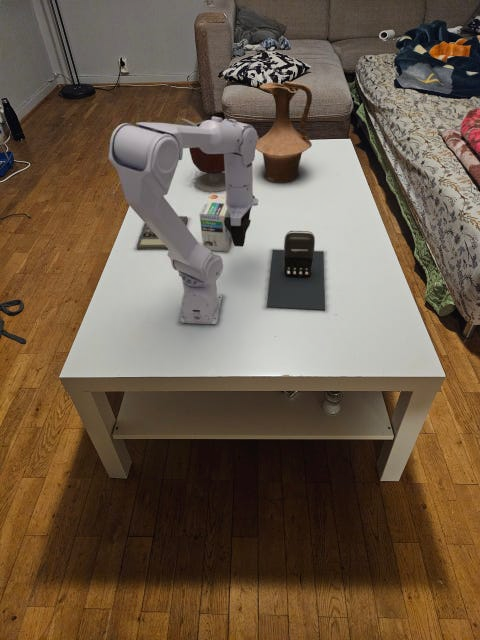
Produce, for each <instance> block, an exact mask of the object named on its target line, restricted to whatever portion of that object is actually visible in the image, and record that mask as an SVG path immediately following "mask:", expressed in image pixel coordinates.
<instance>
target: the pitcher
mask: <svg viewBox="0 0 480 640" xmlns="http://www.w3.org/2000/svg"><path fill="white" fill-rule="evenodd" d="M259 89H260V90H264V91H267V92H269V93H270V94H271V95H272V96H273V100H274V104H275V117H274V121H273V124H272V126H271V127H270V129H269V131H267V132H266V134H264V135H263V136H262V137H260V138H258V143H257V147H256V149H255V150H257V151H258V152H259V153H262V156H263V164H264V165H263V166H264V177H265V179H267V180H268V181H271V182H272V183H273V182H274V183H288V182H292V181H294V180H295V179H296V178H298V176H299V170H300V164H301V163H300V162H301V158H302V154H303V153H304V152H306V151H307V150H308V149H310V148H311V147H312V146H313V145H312V142H311V140H310V139H309V136H308V135H307V131H306V124H307V120H308V115H309V113H310V109H311V106H312V101H313V93H312V90H311V88H310V87H309V86H308V85H307V84H304V83H301V82H294V81H293V82H292V81H288V80H285V81H284V84H282V83H279V82H266V83H263V84H261V85H259ZM299 90H300V91H302V92H305V95H306V102H305V106H304V109H303V113H302V116H301V121H300V133H299V132H298V131H297V130H296V129H295V127H294V126H293V123H292V121H291V117H290V103H291V101H292V100H293V98H294V96H295V95H296V93H297V92H298V91H299Z"/></svg>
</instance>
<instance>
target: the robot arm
mask: <svg viewBox="0 0 480 640" xmlns="http://www.w3.org/2000/svg"><path fill="white" fill-rule="evenodd" d="M201 122H202V123H201V124H200V126H199V127H194V126H189V125H187V124H186V125H185V124H176V123H166V122H149V121H147V122H143V121H140V122H136V123H135V125H134V124H132V123H129V122H124V123H120V124H119V125H118V126H117V127H116V128H114V130H113V132H112V133H111V137H110V141H109V150H108V151H109V152H108V160H109V162H110V163H111V165H112V166H113V167H114V168H115V170H116V171H117V174H118V178H119V182H120V184H121V188H122V191H123V195H124V198H125V201H126V203H127V204H128V205H129V207H130V208H131V209H132V211H134V213H135V214H136V215H138V217H139V218H140V219H141V221H143V223H144V224H145V223H146V225H147V226H148V227H149V228H150V229H151V230H152V231H153V232H154V234H155V235H156V236H157V237H158V238H159V239H160V240H161V241H162V242H163V244H164V245H165V246H166V247H167V248H168V249H167V250H168V251H167V257H168V258H169V260H170V264H171V267H172V269H174V270H175V271H177V272H178V276H179V277H180V278H181V282H182V289H183V295H182V298H181V306H182V307H181V308H182V313H181V317H180V323H182V324H196V325H197V324H199V325H217V323H218V318H219V313H220V309H221V303H222V299H223V295H222V294H218V287H217V281H218V280H219V279H220V277H221V275H222V274H223V273H222V272H223V269H224V261H223V258H222V256H221V255H219V254H214V252H213V250H209V249H207V248H206V247H204V246H203V244H202V243H200V242H199V241H198V240H197V239H196V237H195V236H194V234H192V232H191V231H190V229H189V228H188V227H187V225H186V226H185V224H184V223H183V222H182V220H181V219H180V218H179V216H180V215H178V214H177V212H176V211H175V209H174V208H173V207H172V206H171V204H170V203H169V201H168V200H167V199H166V198H165V196H167V195H168V194H169V191H170V188H171V185H172V182H173V178H174V176H175V173H176V171H177V168H178V164H179V161H181V160H183V155H184V149H189V148H195V147H199V148H200V149H201V150H202V151H203V152H204V153H206V154H224V164H225V171H224V173H225V181H226V190H225V195H226V206H227V208H228V211H229V213H230V215H231V217H225V219H224V225H225V227H226V228H227V229H228V231H229V232H230V235H231V238H232V241H231V242H232V245H233V247H239V248H242V247H244V246H245V241H246V234H247V231H248V229H249V227H250V225H251V222H252V220H251V219H250V216H251V211H252V208H253V207H256V206H258V205H259V198H257V197H256V196H255V195H254V188H253V187H254V186H253V185H254V183H253V181H254V180H253V162H254V161H255V158H256V150H257V149H256V147H257V143H258V140H259V135H258V132H257V130H256V129H255V128H254V126H253V125H252V124H249V123H243V122H240V121H237V119H233V118H224V119H223V118H222V117H218V116H212V117H211V119H206V120H204V121H201Z"/></svg>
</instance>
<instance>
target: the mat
mask: <svg viewBox="0 0 480 640" xmlns="http://www.w3.org/2000/svg"><path fill="white" fill-rule="evenodd" d="M324 256H325V255H324V251H321V250H320V251H319V250H316V251H315V250H314V256H313V261H312V272H311V275H310V276H309V277H287V276H285V274H284V249H272V252H271V261H270V271H269V278H268V280H269V281H268V289H267V298H266V308H267V309H284V310H285V309H286V310H302V311H303V310H304V311H321V312H324V311H325V312H326V294H325V293H326V291H325V289H326V288H325V262H324V261H325V258H324Z"/></svg>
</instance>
